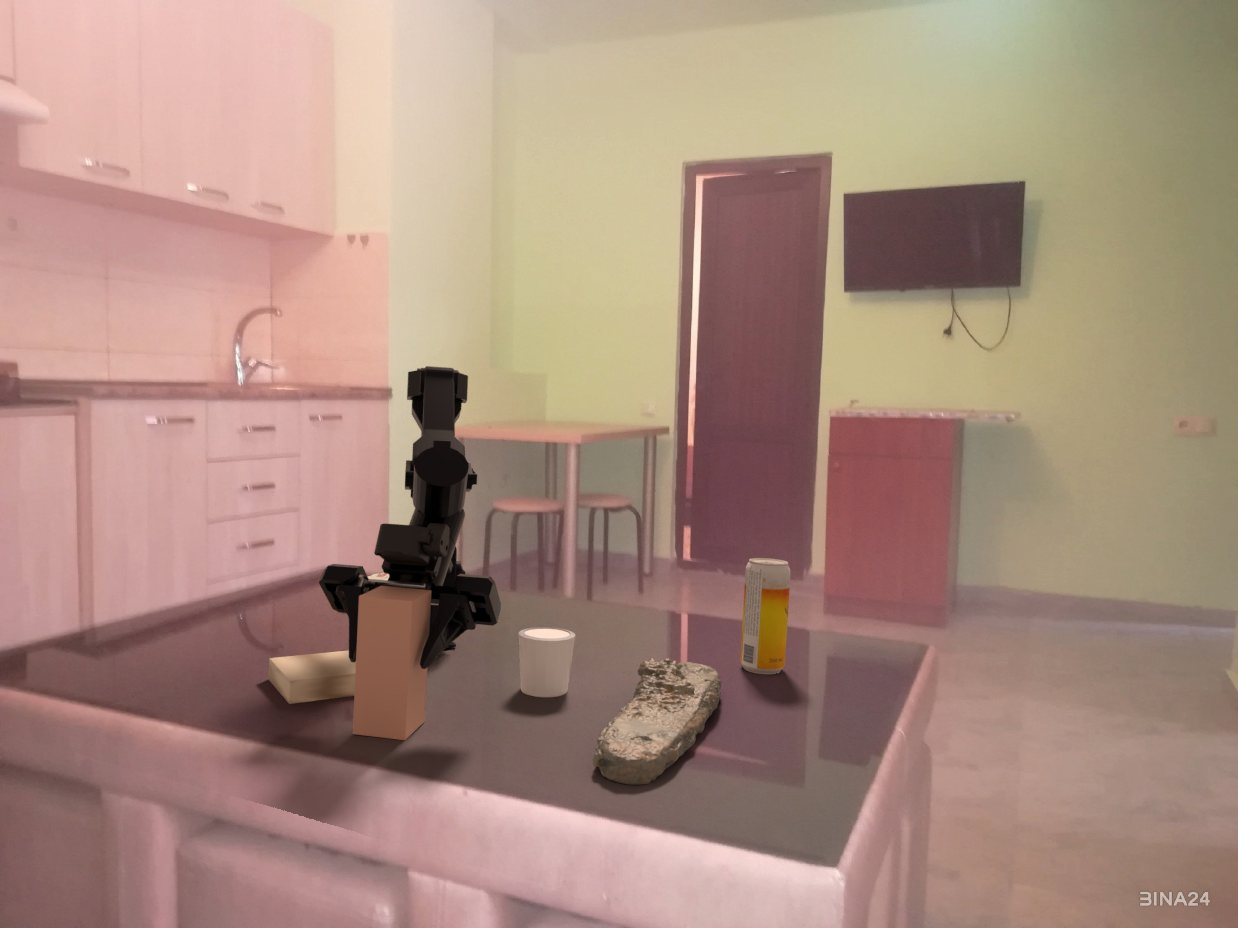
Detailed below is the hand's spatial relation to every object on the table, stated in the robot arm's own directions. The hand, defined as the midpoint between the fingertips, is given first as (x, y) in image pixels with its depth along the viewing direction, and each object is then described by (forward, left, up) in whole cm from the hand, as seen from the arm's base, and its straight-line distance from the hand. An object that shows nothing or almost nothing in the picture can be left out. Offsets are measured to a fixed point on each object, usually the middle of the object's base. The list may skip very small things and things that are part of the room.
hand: (386, 663), depth 89 cm
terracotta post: (-1, -1, -7) cm, 7 cm away
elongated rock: (-28, +10, -8) cm, 31 cm away
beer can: (-54, -2, -7) cm, 55 cm away
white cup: (-22, -6, -7) cm, 24 cm away
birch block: (+1, -18, -8) cm, 20 cm away
